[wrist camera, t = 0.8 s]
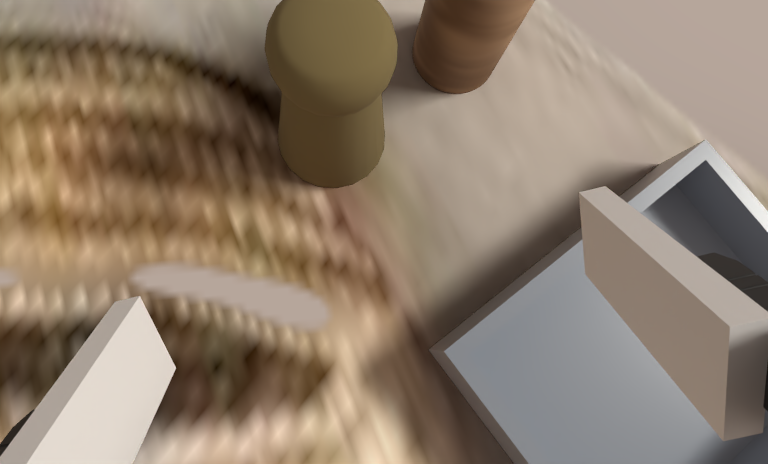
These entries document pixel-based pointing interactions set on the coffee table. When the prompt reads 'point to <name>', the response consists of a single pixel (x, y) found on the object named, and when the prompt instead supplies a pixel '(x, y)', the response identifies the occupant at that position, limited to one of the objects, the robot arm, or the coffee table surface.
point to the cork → (331, 85)
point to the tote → (605, 340)
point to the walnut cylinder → (464, 40)
